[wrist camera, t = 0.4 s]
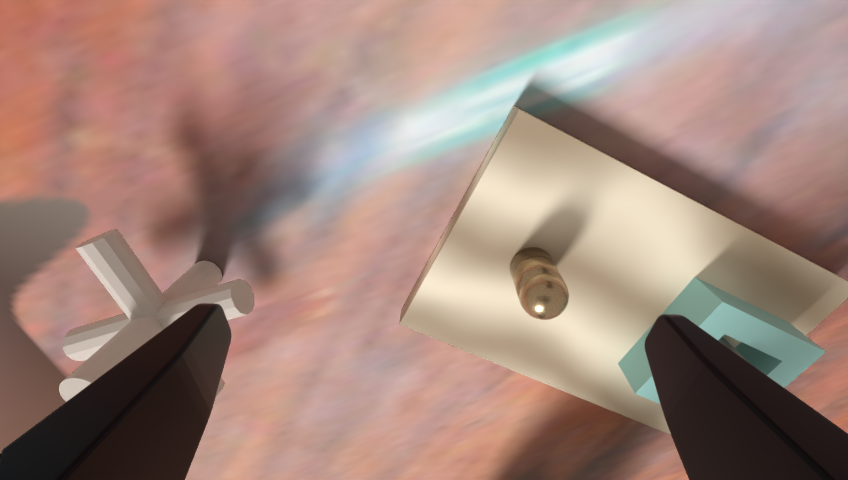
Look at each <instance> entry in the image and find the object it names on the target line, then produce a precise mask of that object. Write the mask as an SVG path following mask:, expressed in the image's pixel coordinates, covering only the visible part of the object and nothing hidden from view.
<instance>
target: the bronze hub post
mask: <svg viewBox="0 0 848 480" xmlns="http://www.w3.org/2000/svg"><path fill="white" fill-rule="evenodd" d="M510 273H511V276H512V279H513V282H514V286H515V289H516V292H517V295H518V298H519V301H520V304H521V306H522V308H523V309H524V310H525V312H526V313H528V314H529V315H530V316H532V317H534V318H536V319H540V320H549V319H553V318H556V317H557V316H559V315H560V314H561V313H562V312H563V311H564V310H565V309H566V307H567V305H568V301H569V292H568V288H567V286H566V284H565V282H564V280H563V278H562V276H561V275H560V273H559V271H558V269H557V267H556V265H555V263H554V262H553V260H552V258H551V256H550V255H549V253H548V252H546V251H545V250H543V249H541V248H537V247H529V248H525V249H522V250H520V251H519V252H518V253H516V254H515V255H514V257H513V258H512V260H511V262H510Z"/></svg>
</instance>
